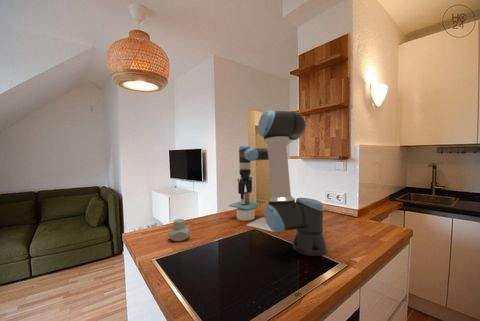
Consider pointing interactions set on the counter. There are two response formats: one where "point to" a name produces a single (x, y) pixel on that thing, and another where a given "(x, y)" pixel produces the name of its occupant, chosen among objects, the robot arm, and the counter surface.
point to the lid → (247, 204)
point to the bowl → (245, 214)
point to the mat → (260, 224)
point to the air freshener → (179, 230)
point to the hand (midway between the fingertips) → (245, 202)
